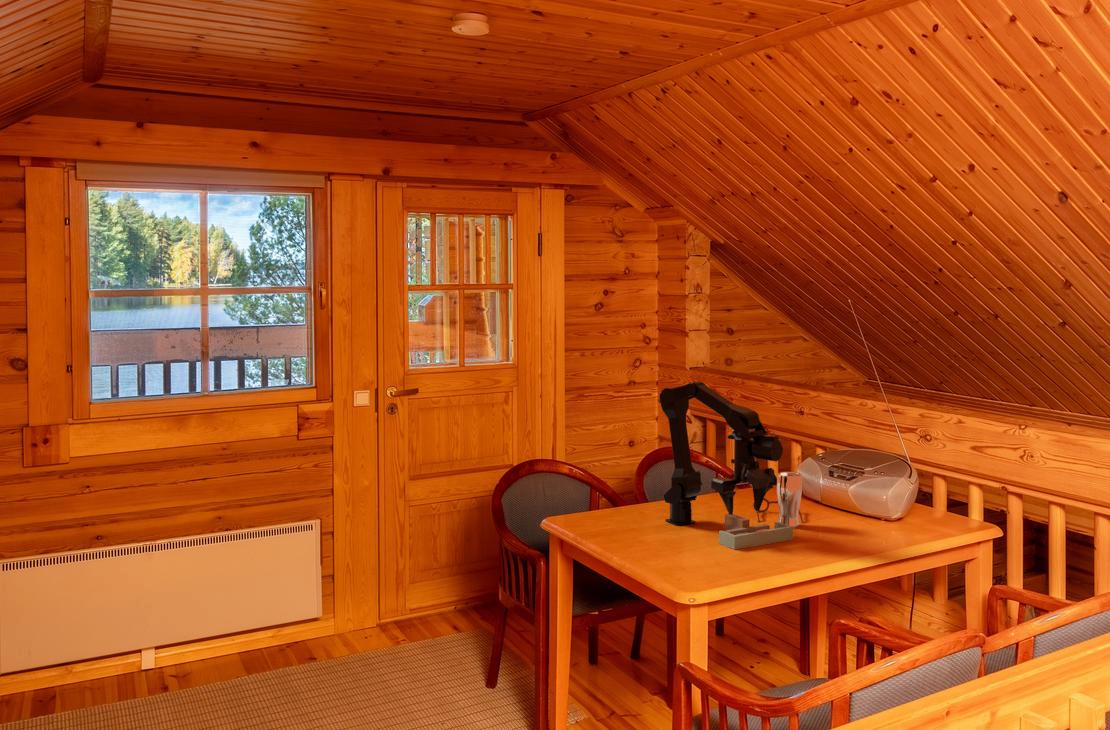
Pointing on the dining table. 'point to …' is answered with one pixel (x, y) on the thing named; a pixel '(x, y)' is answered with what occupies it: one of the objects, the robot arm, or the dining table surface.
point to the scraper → (740, 524)
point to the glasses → (768, 507)
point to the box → (757, 537)
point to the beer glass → (789, 497)
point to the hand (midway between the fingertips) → (744, 512)
